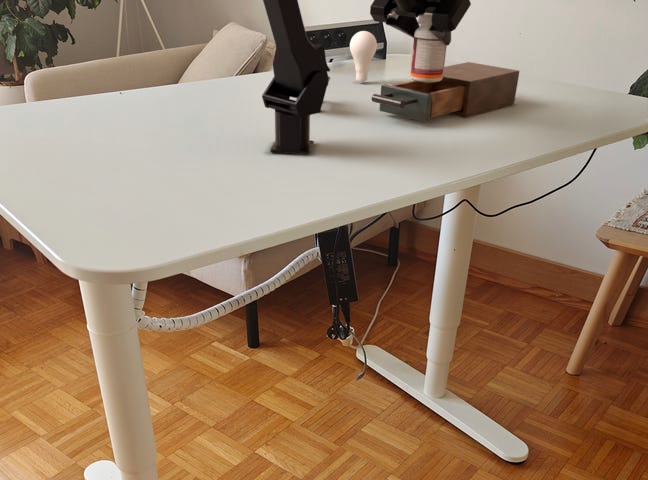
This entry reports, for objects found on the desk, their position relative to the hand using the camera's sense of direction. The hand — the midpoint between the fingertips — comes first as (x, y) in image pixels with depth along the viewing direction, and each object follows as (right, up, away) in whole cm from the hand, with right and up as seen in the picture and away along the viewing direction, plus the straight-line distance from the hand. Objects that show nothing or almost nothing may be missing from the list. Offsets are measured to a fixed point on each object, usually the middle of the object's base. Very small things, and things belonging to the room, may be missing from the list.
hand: (435, 41), depth 127 cm
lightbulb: (-11, +5, +32) cm, 34 cm away
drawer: (-2, -11, +5) cm, 13 cm away
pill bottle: (-1, -6, +3) cm, 7 cm away
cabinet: (+9, -7, +14) cm, 18 cm away
